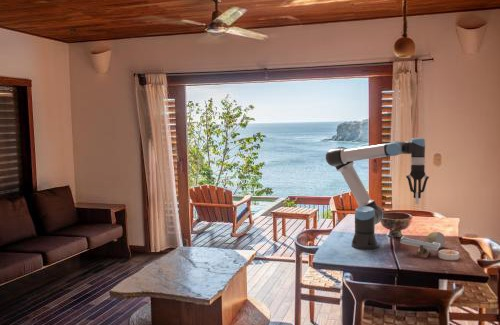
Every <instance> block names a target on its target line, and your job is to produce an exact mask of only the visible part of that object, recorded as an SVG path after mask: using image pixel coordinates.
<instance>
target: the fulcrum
mask: <svg viewBox="0 0 500 325" xmlns="http://www.w3.org/2000/svg"><path fill="white" fill-rule="evenodd" d="M422 241H423V242H427V240H422ZM430 253H431V250H430V249H426V248H423V245H420V247H419V248H418V250H417V251H416V252H415V257H418V258H424V259H425V258H426V259H427V258H428V257H429V255H430Z"/></svg>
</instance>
